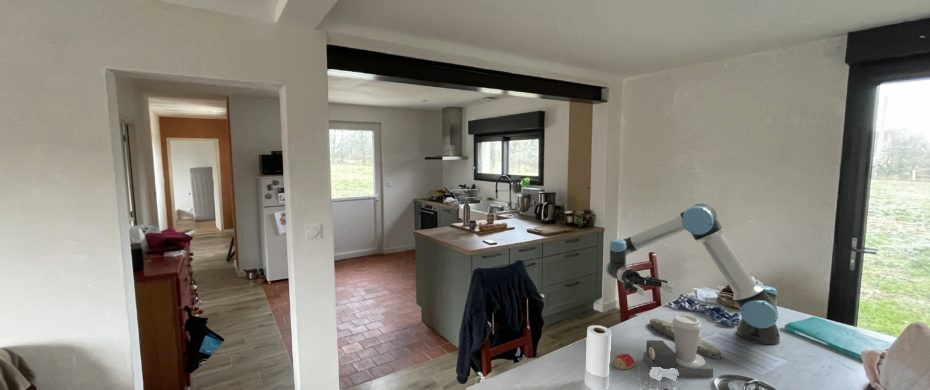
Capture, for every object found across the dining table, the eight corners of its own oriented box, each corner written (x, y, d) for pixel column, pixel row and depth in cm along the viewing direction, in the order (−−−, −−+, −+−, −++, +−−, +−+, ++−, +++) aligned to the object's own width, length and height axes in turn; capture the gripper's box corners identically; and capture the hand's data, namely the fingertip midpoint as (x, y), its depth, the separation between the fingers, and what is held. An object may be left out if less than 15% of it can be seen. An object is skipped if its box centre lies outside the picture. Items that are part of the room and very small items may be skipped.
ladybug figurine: (608, 366, 147) (609, 357, 147) (622, 357, 153) (622, 349, 153) (625, 373, 142) (625, 364, 141) (638, 364, 148) (638, 355, 148)
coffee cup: (704, 365, 139) (706, 325, 137) (675, 362, 141) (677, 323, 139) (694, 352, 148) (696, 314, 147) (667, 350, 150) (668, 313, 149)
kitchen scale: (694, 359, 150) (695, 339, 150) (713, 376, 138) (714, 355, 138) (642, 359, 151) (643, 339, 150) (656, 376, 139) (657, 355, 138)
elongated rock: (709, 365, 149) (728, 362, 152) (710, 352, 148) (729, 349, 151) (642, 324, 182) (659, 322, 185) (644, 313, 181) (660, 312, 184)
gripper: (652, 282, 183) (684, 297, 162) (604, 286, 180) (630, 302, 159) (652, 267, 183) (684, 280, 162) (604, 270, 179) (630, 284, 158)
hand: (657, 291), depth 160 cm, fingers open, 13 cm apart
